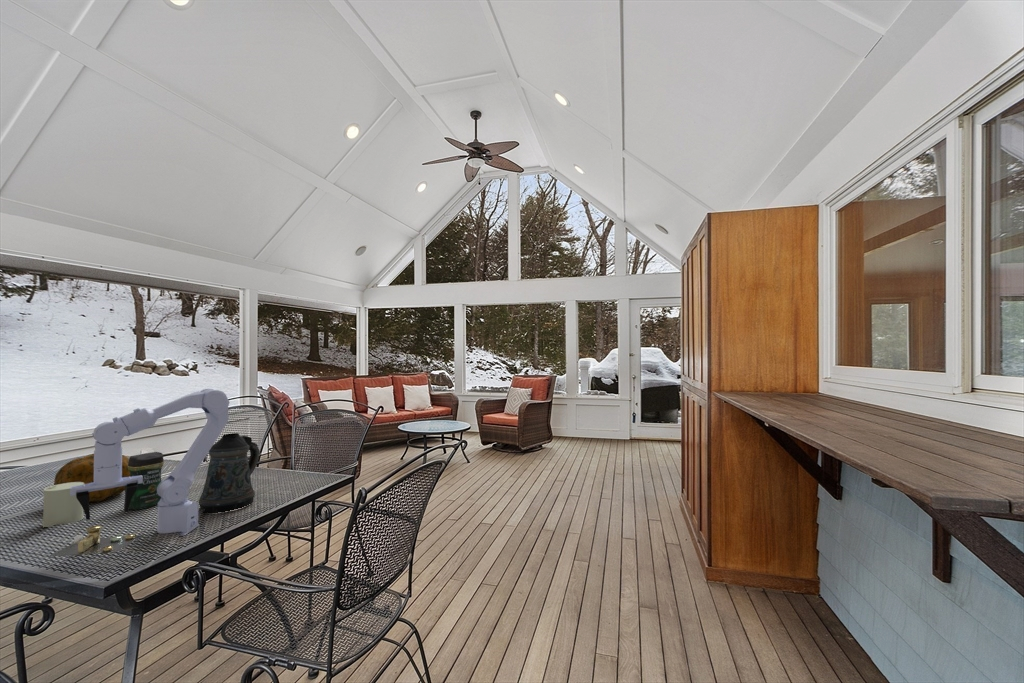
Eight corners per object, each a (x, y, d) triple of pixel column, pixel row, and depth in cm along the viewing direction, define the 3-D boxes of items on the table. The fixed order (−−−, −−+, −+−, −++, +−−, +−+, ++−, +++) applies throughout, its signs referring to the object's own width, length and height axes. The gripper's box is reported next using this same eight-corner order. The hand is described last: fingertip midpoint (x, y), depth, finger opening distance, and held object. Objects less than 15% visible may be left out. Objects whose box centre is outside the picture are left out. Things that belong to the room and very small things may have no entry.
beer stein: (188, 516, 141) (189, 440, 141) (216, 496, 160) (217, 430, 160) (243, 512, 144) (244, 438, 145) (264, 493, 163) (265, 428, 164)
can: (45, 521, 137) (46, 484, 137) (85, 514, 143) (86, 478, 143) (39, 530, 130) (40, 491, 130) (81, 522, 136) (82, 485, 136)
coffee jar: (133, 512, 145) (134, 457, 145) (122, 508, 148) (123, 455, 149) (167, 503, 153) (167, 451, 154) (156, 499, 157) (156, 449, 157)
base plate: (144, 539, 124) (144, 528, 124) (116, 556, 113) (116, 544, 113) (81, 543, 121) (82, 531, 121) (47, 561, 111) (47, 548, 111)
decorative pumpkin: (54, 496, 158) (62, 442, 159) (130, 489, 172) (136, 439, 173) (45, 513, 143) (54, 454, 144) (129, 504, 157) (136, 450, 158)
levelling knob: (90, 541, 119) (90, 526, 119) (104, 540, 120) (104, 524, 120) (73, 553, 112) (73, 536, 112) (87, 551, 113) (87, 535, 113)
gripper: (140, 458, 126) (140, 504, 126) (70, 468, 115) (69, 518, 115) (143, 462, 121) (143, 510, 121) (70, 473, 111) (70, 525, 110)
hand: (107, 514), depth 118 cm, fingers open, 7 cm apart
